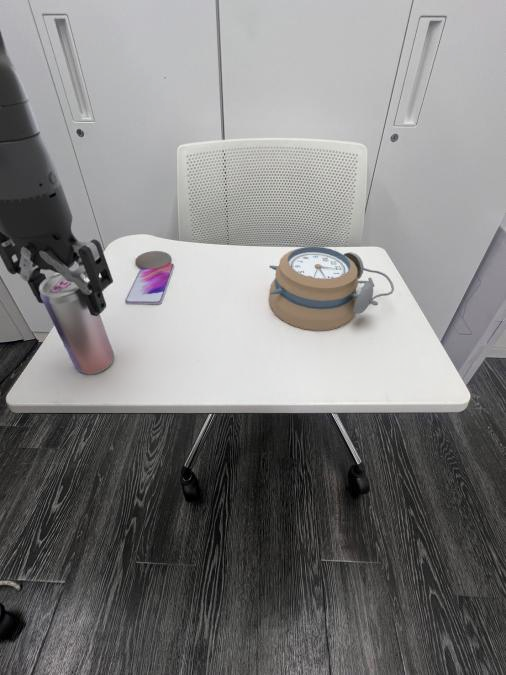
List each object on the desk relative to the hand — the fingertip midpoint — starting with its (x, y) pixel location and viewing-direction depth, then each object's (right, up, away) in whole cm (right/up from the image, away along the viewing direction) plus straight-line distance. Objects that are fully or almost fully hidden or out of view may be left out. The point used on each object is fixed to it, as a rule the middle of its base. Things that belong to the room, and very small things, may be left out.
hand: (72, 306), depth 47 cm
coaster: (+2, +13, +31) cm, 34 cm away
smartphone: (+4, +7, +25) cm, 26 cm away
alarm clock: (+39, +2, +21) cm, 45 cm away
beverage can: (0, -8, +8) cm, 11 cm away
